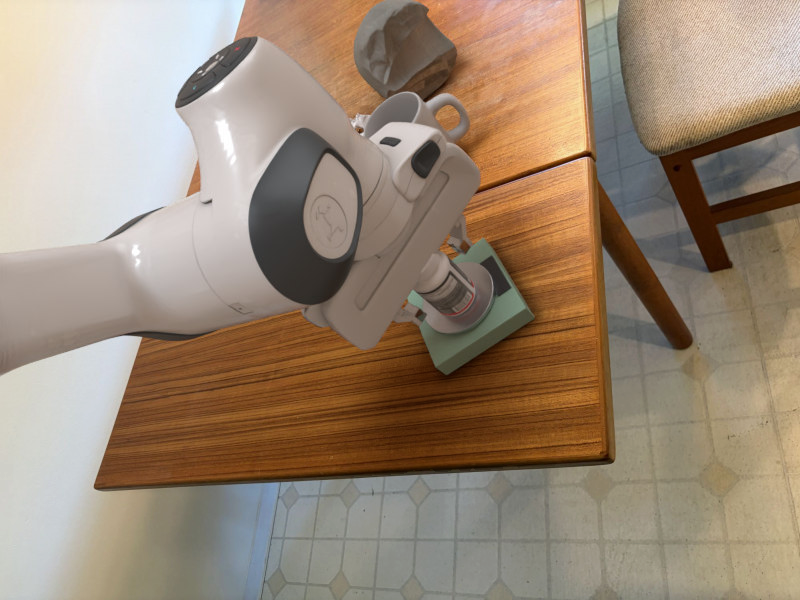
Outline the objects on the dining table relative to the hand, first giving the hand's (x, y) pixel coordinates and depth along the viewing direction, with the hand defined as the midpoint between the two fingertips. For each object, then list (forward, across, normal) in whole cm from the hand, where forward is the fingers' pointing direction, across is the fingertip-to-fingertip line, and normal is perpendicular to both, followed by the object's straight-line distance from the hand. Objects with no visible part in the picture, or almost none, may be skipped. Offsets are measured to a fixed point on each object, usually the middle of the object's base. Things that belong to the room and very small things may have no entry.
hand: (442, 283), depth 56 cm
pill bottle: (+3, 0, 0) cm, 3 cm away
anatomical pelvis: (+6, +17, +35) cm, 40 cm away
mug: (+6, +16, +16) cm, 24 cm away
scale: (+6, 0, 0) cm, 6 cm away
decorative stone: (+6, +29, +32) cm, 43 cm away
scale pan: (+4, 0, 0) cm, 4 cm away
